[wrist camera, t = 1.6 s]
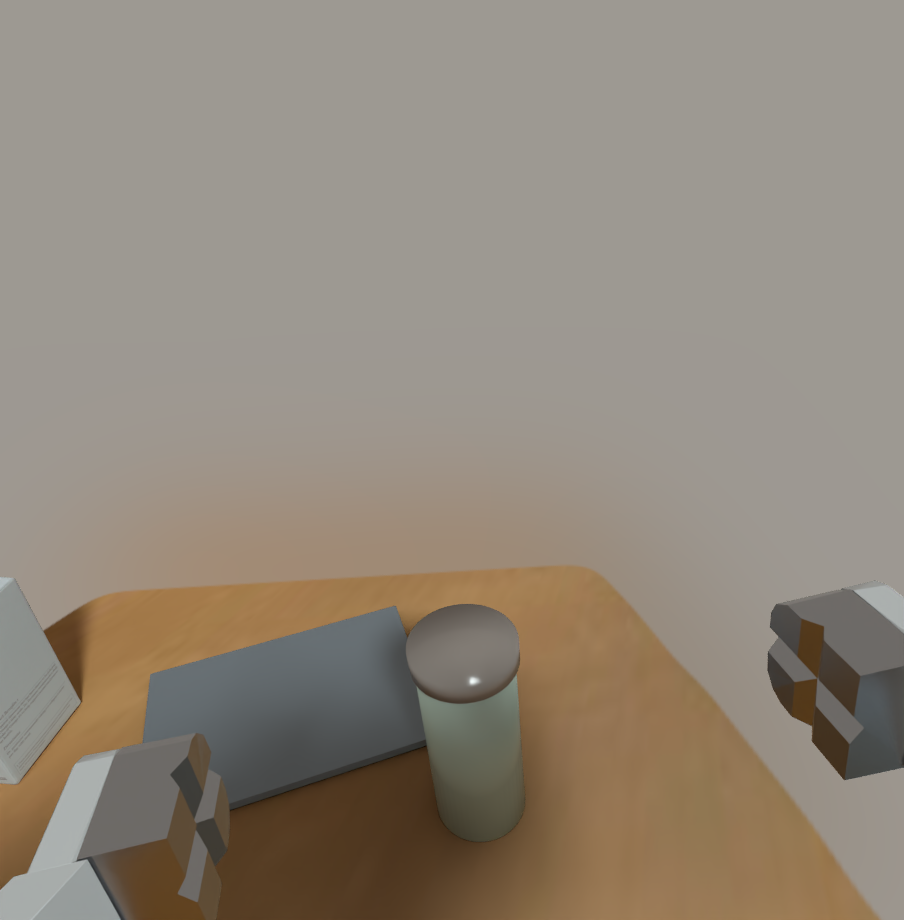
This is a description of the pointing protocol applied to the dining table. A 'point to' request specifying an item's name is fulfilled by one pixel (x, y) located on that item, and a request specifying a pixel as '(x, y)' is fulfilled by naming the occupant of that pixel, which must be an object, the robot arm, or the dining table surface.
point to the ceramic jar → (471, 717)
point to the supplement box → (27, 686)
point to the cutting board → (295, 706)
